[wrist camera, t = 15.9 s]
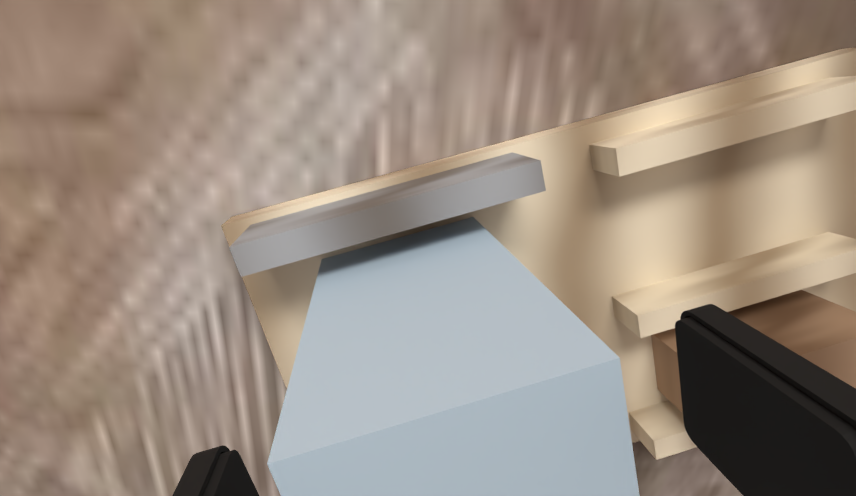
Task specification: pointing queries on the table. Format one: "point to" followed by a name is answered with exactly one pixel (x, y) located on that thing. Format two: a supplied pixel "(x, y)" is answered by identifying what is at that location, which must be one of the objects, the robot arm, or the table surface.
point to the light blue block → (448, 380)
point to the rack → (614, 217)
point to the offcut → (779, 337)
